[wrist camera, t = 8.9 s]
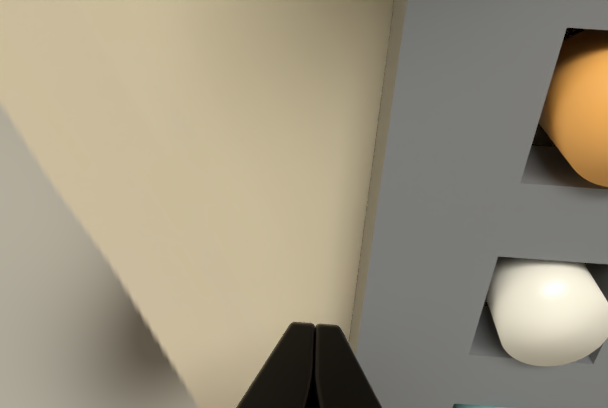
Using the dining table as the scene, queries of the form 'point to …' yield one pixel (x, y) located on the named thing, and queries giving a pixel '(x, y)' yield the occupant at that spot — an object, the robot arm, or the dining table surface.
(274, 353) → the robot arm
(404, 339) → the console
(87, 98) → the dining table surface
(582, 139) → the orange button
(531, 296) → the cream button
